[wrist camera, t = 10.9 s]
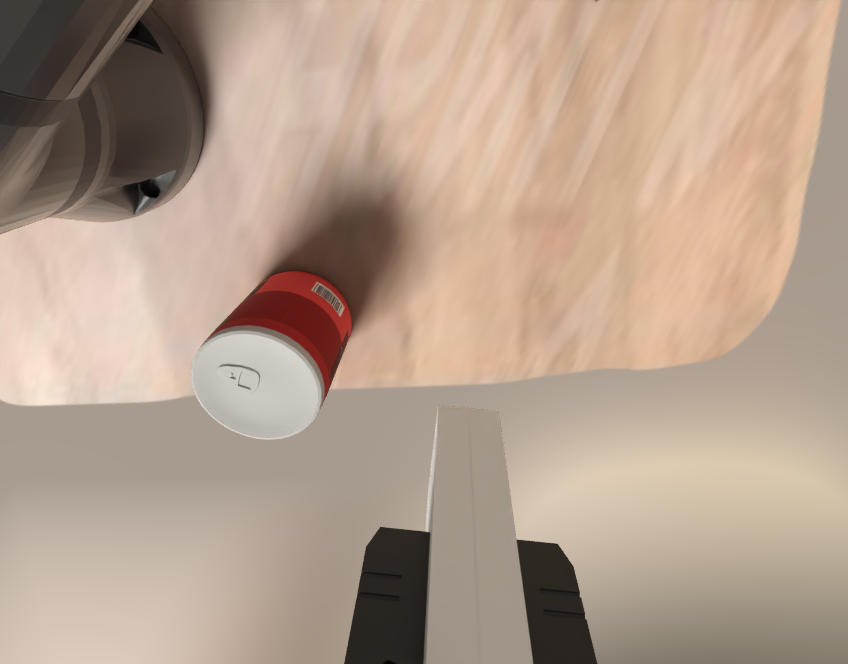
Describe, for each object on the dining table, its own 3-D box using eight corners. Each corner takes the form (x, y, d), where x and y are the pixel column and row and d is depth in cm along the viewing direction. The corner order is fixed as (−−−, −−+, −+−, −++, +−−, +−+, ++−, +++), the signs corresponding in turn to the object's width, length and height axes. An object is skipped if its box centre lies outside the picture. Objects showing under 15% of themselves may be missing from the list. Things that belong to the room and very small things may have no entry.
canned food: (251, 261, 40) (183, 322, 30) (357, 274, 40) (324, 339, 30) (254, 350, 43) (193, 432, 33) (351, 362, 43) (320, 448, 33)
